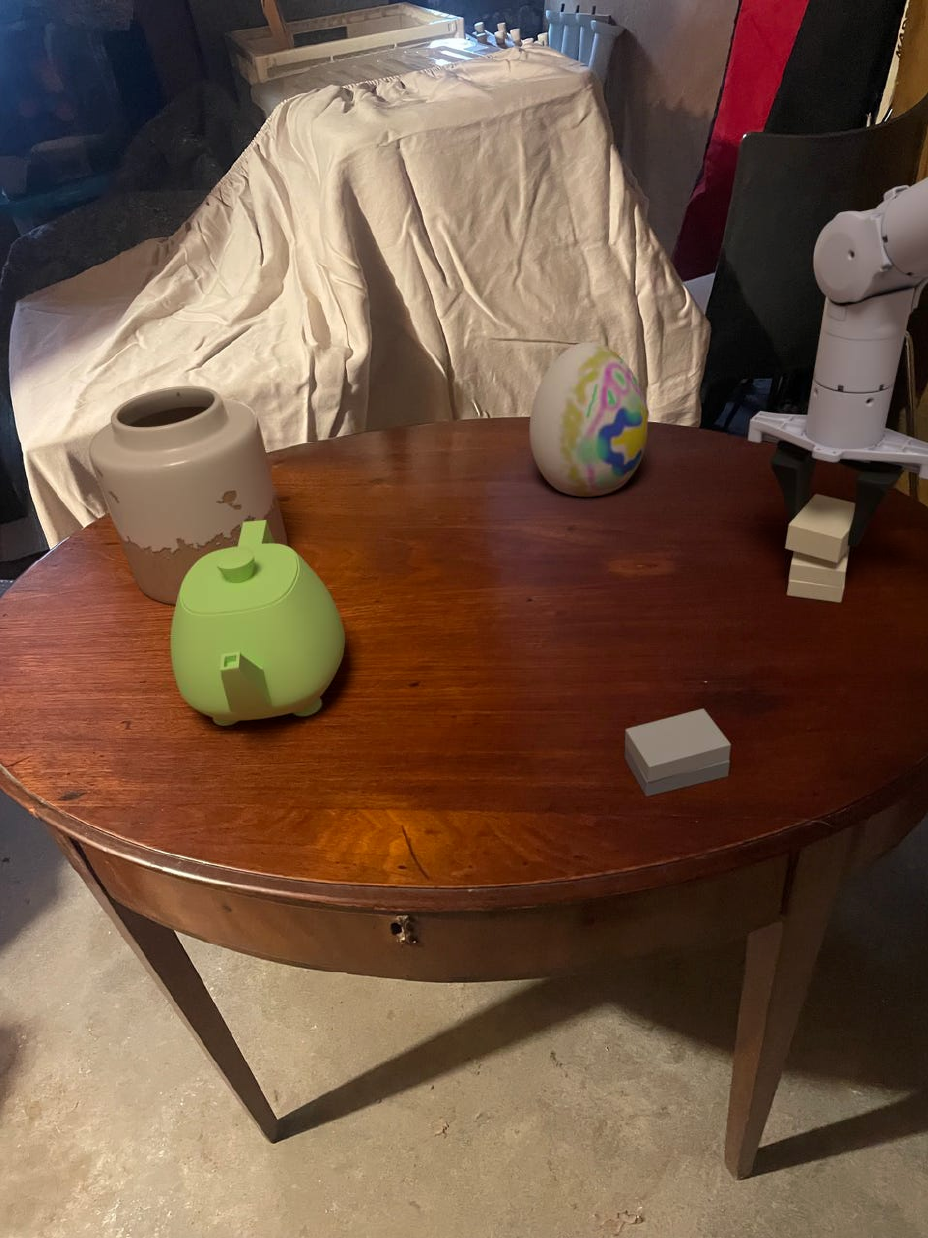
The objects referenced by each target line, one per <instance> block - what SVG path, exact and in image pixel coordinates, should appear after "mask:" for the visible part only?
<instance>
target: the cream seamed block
mask: <svg viewBox="0 0 928 1238" xmlns="http://www.w3.org/2000/svg"><path fill="white" fill-rule="evenodd" d="M849 552H850V547H849V548H848V550H847V551H846V552H845V554H844V555H843V556H842V557H841V559H840V560H839V561H838V563H835V562H832V561H828V560H825V559H821V558H817V557H814V556H810V555H807V554H803V553H799V552H796V551H793V553H792V554H793V555H792V558H791V562H790V567H789V574H788V584H787V590H786V596H789V597H796V598H803V599H810V600H816V601H817V600H818V601H824V602H825V601H826V602H832V603H840V604H841V603H842V601H843V596H844V592H845V585H846V584H845V583H846V572H847V567H848V561H849Z"/></svg>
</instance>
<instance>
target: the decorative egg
mask: <svg viewBox="0 0 928 1238" xmlns="http://www.w3.org/2000/svg"><path fill="white" fill-rule="evenodd" d="M531 406H532V407H531V411H530V417H529V443H530V448H531V452H532V456H533V459H534V461H535V464H536V466H537V468H538V470H539V471H540V473H541V474H542V476H543V478H544V479H545V480H546V481H547V483H549V484H550V485H551V487H553V489H555V490H556V491H559V492H560V493H563V494H565V495H570V496H573V497H574V496H575V497H584V498H585V497H586V498H592V497H597V496H598V497H599V496H604V495H608V494H612V493H613V492H615V491H617V490H619V489H621V488H622V487H623V486H624V485H625V484H626V483H627V482H629V480H630V479H631V477H632V476H633V475H634V474H635V472H636V470H637V469H638V468H639V465H640V463H641V461H642V458H643V456H644V453H645V450H646V444H647V440H648V439H647V438H648V429H649V428H648V425H649V424H648V413H647V407H646V402H645V398H644V395H643V391H642V388H641V387H640V384H639V382H638V379H637V378H636V376H635V374H634V372H633V371H632V370H631V368H630V367H629V365H628V364H627V362H625V360H624V359H623V358H622V357H621V356H620V355H619V354H618V353H617V352H616V351H614V350H613V349H611V348H610V347H608V346H607V345H605V344H602V343H599V342H595V341H585V342H579V343H577V344H574V345H572V346H570V347H569V348H567V349H566V350H564V351H563V352H562V353H561V354H560V355H558V357H557V358H556V359H555V360H554V361H553V363H551V365H550V366H549V368H548V369H547V370H546V372H545V373H544V375H543V376H542V379H541V380H540V383H539V385H538V386H537V390H536V393H535V394H534V398H533V401H532V405H531Z"/></svg>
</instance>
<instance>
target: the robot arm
mask: <svg viewBox="0 0 928 1238" xmlns="http://www.w3.org/2000/svg"><path fill="white" fill-rule="evenodd" d="M813 272H814V277H815V281H816V282H817V286H818V287H819V289H820V290H821V291H820V292H822V294H823V295H824V296H825V299H824V300H825V301H824V308H823V313H822V320H821V328H820V330H819V331H820V333H819V339H818V344H817V351H816V358H815V365H814V371H813V376H812V384H811V389H810V397H809V403H808V409H807V414H791V413H776V412H768V411H762V410H760V411H758V412H757V413H756V414H755V415H754V416H753V417H752V418H750V420H749V427H748V435H747V441H749V442H751V443H752V442H753V443H757V444H760V443H762V442H763V441H764V442H769V443H775V444H777V445H776V448H775V453H773V454H772V456H771V457H770V463H769V465H770V468H771V470H772V472H773V474H774V476H775V477H776V479H777V482H778V484H779V487H780V490H781V493H782V497H783V501H784V504H785V510H786V517H787V527H788V526H789V524H790V523H791V521H792V520H793V519H794V518H795V517H796V516H797V515H798V514H799V512H800V511H801V510H802V509H803V508H804V507H805V506H806V505H807V503H808V502H809V501H810V495H811V486H812V483H813V482H812V481H813V478H814V473H815V469H816V465H817V461H818V460H819V461H824V462H829V463H838V462H840V461H841V460H852V461H857V462H861V463H868V464H869V465H868V466H867V467H865V468H864V469H863V471H861V473H860V474H859V475H858V476H857V478H856V484H855V485H856V486H855V487H856V489H855V491H856V492H855V501H854V503H855V509H854V515H853V519H852V523H851V526H850V530H849V536H848V545H847V546H850V547H851V548H857V546H858V545H859V544H860V543H861V541H862V540H863V539H864V537H865V533H866V531H867V528H868V526H869V524H870V522H871V519H872V517H873V516H874V514H875V512H876V510H877V508H878V507H879V505H880V504H881V502H882V501H883V500H884V499H885V496H886V495H887V493H888V492H889V491H890V490H891V489H892V488H893V486H895V484H896V483H897V481H898V480H899V479H900V477H902V475H903V474H904V473H905V472H908V473H909V472H910V473H914V474H918V475H917V476H918V478H920V479H923V480H928V442H925V441H922V440H919V439H917V438H914V437H913V436H912V437H911V436H908V435H906V434H903V433H900V432H898V431H895V430H892V429H890V428H887V427H886V424H887V420H888V414H889V410H890V405H891V402H892V396H893V392H894V387H895V383H896V376H897V373H898V368H899V364H900V358H901V355H902V350H903V345H904V340H905V336H906V331H907V326H908V321H909V317H910V315H911V314H913V312H914V309H917V308H918V306H919V301H920V296H921V293H922V291H923V289H924V287H925V286H926V285H927V284H928V176H927V177H925V178H924V179H922V180H920V181H918V182H916V183H915V184H912V185H911V186H909V185H907V184H905V185H900V186H895V187H893V188H891V189H889V190H888V191H886V192H884V194H883V201H882V202H881V203H880V204H878V205H877V207H875V208H871V209H867V210H862V211H857V210H847V211H841V212H839V213H837V214H835V217H834V218H833V219H832V220H831V221H828V223H827V224H826V225H825V226H824V227H823V228H822V230H821V232H820V233H819V235H818V237H817V240H816V243H815V246H814V251H813Z"/></svg>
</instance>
